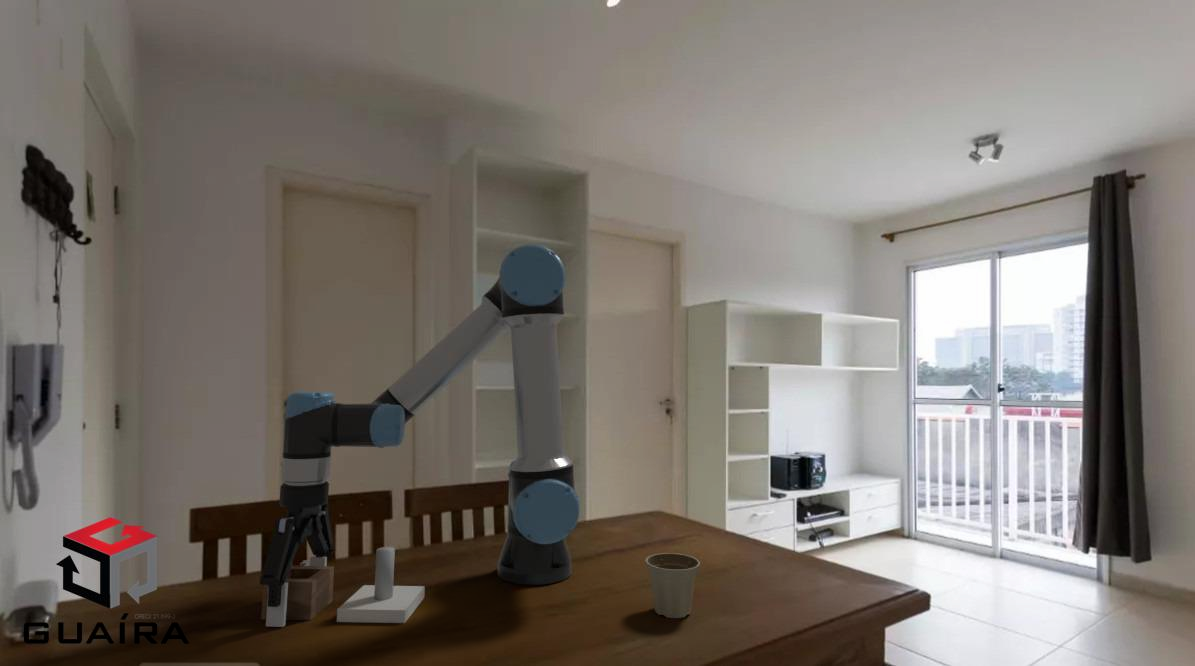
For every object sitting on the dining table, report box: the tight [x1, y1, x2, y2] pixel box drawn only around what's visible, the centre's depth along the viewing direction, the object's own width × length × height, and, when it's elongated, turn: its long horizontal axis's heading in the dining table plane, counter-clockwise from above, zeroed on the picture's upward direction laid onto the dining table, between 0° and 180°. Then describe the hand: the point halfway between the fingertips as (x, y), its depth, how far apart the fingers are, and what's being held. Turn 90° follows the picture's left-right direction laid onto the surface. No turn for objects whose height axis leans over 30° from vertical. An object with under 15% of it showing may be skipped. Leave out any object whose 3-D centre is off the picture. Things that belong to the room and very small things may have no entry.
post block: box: [336, 546, 426, 624], centre depth 100 cm, size 11×11×10 cm
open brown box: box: [260, 565, 335, 621], centre depth 99 cm, size 8×8×6 cm
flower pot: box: [645, 552, 701, 619], centre depth 102 cm, size 9×9×9 cm
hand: (297, 609), depth 99 cm, fingers open, 13 cm apart
